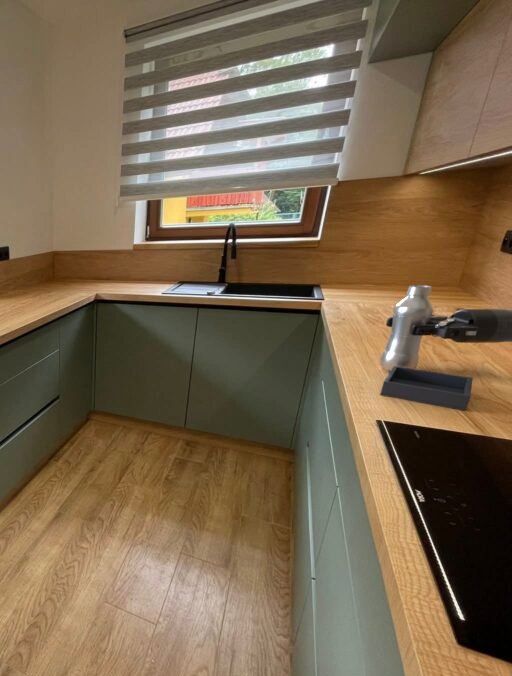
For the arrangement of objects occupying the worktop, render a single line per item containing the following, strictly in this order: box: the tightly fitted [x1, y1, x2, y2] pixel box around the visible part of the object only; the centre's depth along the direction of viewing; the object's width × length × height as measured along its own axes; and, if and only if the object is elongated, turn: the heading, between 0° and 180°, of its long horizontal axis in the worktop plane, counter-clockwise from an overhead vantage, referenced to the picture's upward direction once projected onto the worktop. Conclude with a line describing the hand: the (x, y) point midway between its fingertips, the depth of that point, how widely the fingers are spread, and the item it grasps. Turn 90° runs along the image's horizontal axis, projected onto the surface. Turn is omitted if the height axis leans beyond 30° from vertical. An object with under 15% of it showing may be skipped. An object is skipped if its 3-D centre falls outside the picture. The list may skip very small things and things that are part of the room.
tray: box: [379, 366, 474, 412], centre depth 89 cm, size 13×12×3 cm
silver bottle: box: [379, 284, 434, 372], centre depth 98 cm, size 6×7×20 cm
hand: (399, 325), depth 98 cm, fingers open, 8 cm apart
